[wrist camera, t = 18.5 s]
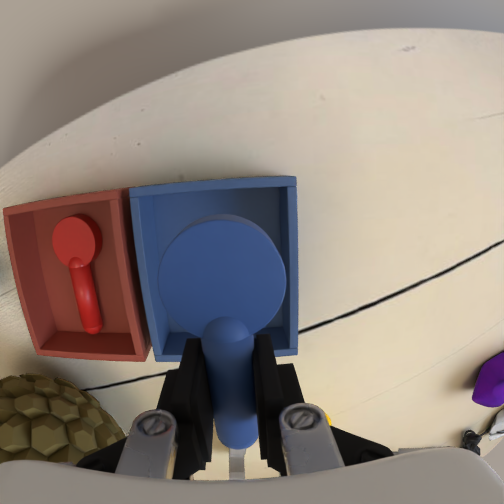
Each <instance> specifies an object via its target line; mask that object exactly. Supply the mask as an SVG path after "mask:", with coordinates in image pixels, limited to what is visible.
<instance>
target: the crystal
mask: <svg viewBox="0 0 504 504" xmlns="http://www.w3.org/2000/svg"><path fill="white" fill-rule="evenodd" d="M472 400H473V401H474V402H475V403H478V404H480V405H483V406H486V407H499V406H501V405H502V404H503V403H504V352H502V353H500V354H499V355H497V356H495V357H494V358H492V359H490V360H489V361H487V362H486V363H485V364H484V365H483V366H482V368H481V371H480V373H479V376H478V379H477V381H476V384H475V388H474V392H473V395H472Z"/></svg>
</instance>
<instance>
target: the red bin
mask: <svg viewBox="0 0 504 504" xmlns="http://www.w3.org/2000/svg"><path fill="white" fill-rule="evenodd" d="M129 188H133V187H127V188H119V189H111V190H103V191H96V192H89V193H82V194H76V195H69V196H63V197H57V198H51V199H45V200H40V201H34V202H29V203H24V204H20V205H15V206H11V207H6V208H3V216H4V225H5V232H6V238H7V244H8V250H9V255H10V260H11V265H12V270H13V275H14V279H15V283H16V287H17V291H18V295H19V299H20V303H21V306H22V310H23V313H24V317H25V320H26V323H27V327H28V330H29V333H30V336H31V339H32V342H33V345H34V348H35V350H36V353H37V355H43V356H52V357H63V358H75V359H89V360H106V361H133V362H145V361H146V358H147V356H148V354H149V351H150V349H151V347H152V343H151V338H150V333H149V328H148V323H147V318H146V313H145V307H144V302H143V296H142V290H141V284H140V278H139V271H138V264H137V257H136V250H135V242H134V234H133V225H132V216H131V206H130V195H129ZM75 214H83V215H86V216H88V217H90V218H91V219H92V220H94V221H95V223H96V224H97V225H98V227H99V229H100V232H101V236H102V248H101V251H100V253H99V255H98V257H97V258H96V259H95V260H94V261H92V262H91V263H90V265H91V271H92V276H93V281H94V286H95V291H96V296H97V300H98V305H99V309H100V313H101V317H102V322H103V326H102V329H101V331H100V332H99V333H97V334H89V333H87V332H86V331H85V330H84V328H83V326H82V323H81V319H80V315H79V311H78V307H77V303H76V299H75V294H74V290H73V285H72V281H71V276H70V271H69V267H67V266H66V265H64V264H63V263H62V262H61V261H60V260H59V259H58V258H57V256H56V254H55V252H54V249H53V245H52V235H53V231H54V228H55V226H56V225H57V223H58V222H59V221H60V220H62V219H63V218H65V217H68V216H71V215H75Z"/></svg>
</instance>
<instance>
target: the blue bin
mask: <svg viewBox="0 0 504 504" xmlns="http://www.w3.org/2000/svg"><path fill="white" fill-rule="evenodd" d="M296 185H297V183H296V176H263V177H242V178H225V179H211V180H197V181H185V182H174V183H164V184H154V185H145V186H139V187H133V188H129V195H130V206H131V216H132V225H133V234H134V242H135V250H136V257H137V264H138V271H139V278H140V284H141V290H142V296H143V302H144V307H145V313H146V318H147V323H148V328H149V333H150V338H151V343H152V347H153V352H154V356H155V361H156V362H181V358H182V354H183V351H184V347H185V343H186V339H187V338H200V337H198V336H195V335H193V334H191V333H189V332H188V331H186V330H185V329H183V328H182V327H181V326H179V325H178V324H177V323H176V322H175V321H174V320H173V319H172V317H171V316H170V315H169V313H168V312H167V311H166V309H165V307H164V305H163V303H162V300H161V298H160V294H159V290H158V281H157V278H158V269H159V264H160V261H161V258H162V256H163V254H164V252H165V250H166V248H167V247H168V245H169V244H170V243H171V241H172V240H173V239H174V238H175V237H176V236H177V235H178V234H179V233H180V232H181V231H182V230H183V229H184V228H185V227H186V226H187V225H189V224H190V223H192V222H194V221H195V220H197V219H200V218H202V217H205V216H209V215H215V214H230V215H236V216H239V217H243V218H245V219H247V220H250V221H251V222H253V223H255V224H256V225H258V226H259V227H260V228H261V229H263V230H264V231H265V232H266V233H267V235H268V236H269V237H270V239H271V240H272V242H273V243H274V245H275V247H276V249H277V251H278V252H279V254H280V256H281V258H282V261H283V264H284V267H285V272H286V290H285V296H284V299H283V302H282V304H281V306H280V308H279V310H278V312H277V313H276V315H275V316H274V317H273V319H272V320H271V321H270V322H269V323H268V324H267V325H266V326H265V327H263V328H262V329H261V330H259V331H258V332H256V333H254V334H253V337H254V338H256V335H257V334H270V336H271V341H272V345H273V350H274V354H275V357H280V356H291V355H297V354H298V217H297V187H296Z"/></svg>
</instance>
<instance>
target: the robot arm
mask: <svg viewBox="0 0 504 504" xmlns="http://www.w3.org/2000/svg"><path fill="white" fill-rule="evenodd" d="M252 354H253V369H254V384H255V399H256V414H257V424H258V434H259V444H260V454H261V460H265V459H267V463H268V467H271V468H273V469H275V470H276V471H278V472H279V477H273V478H262V479H247V480H215V481H204V480H194V478H193V474H194V473H195V472H197V471H198V470H205V467H206V462H211V455H212V437H213V421H214V413H213V407H212V401H211V396H210V390H209V384H208V377H207V371H206V365H205V358H204V353H203V349H202V343H201V338H187V339H186V343H185V347H184V351H183V354H182V358H181V362H180V366H179V370H168V372H167V374H166V378H165V381H164V384H163V388H162V391H161V394H160V398H159V401H158V405H157V408H156V409H155V410H149V411H145V412H143V413H141V414H140V415H138V416H137V417H136V418H135V420H134V421H133V424H132V427H131V429H130V432H129V435H128V436H127V437H125V438H123V439H121V440H119V441H117V442H115V443H113V444H111V445H109V446H107V447H105V448H103V449H101V450H98V451H96V452H94V453H92V454H90V455H88V456H85V457H84V458H82V459H81V460H80V461H79V462H78V463H77V464H73V462H59V463H52V462H45V461H36V460H14V461H8V462H4V463H2V464H0V504H504V482H503V481H502V479H501V478H500V477H499V476H498V475H497V473H496V472H495V471H494V470H493V468H492V467H490V465H489V464H488V463H487V462H486V461H485V460H484V459H483V458H481V457H480V456H479V455H477V454H476V453H474V452H472V451H470V450H467V449H463V448H456V447H449V446H448V447H433V448H399V450H398V452H392V451H391V450H390V449H389V448H388V447H386V446H383V445H381V444H378V443H375V442H373V441H370V440H367V439H364V438H361V437H359V436H356V435H353V434H351V433H348V432H345V431H343V430H340V429H338V428H335V427H333V426H330V425H329V423H328V420H327V418H326V415H325V413H324V412H323V410H322V409H321V408H319V407H318V406H316V405H313V404H309V403H305V402H304V398H303V395H302V392H301V388H300V385H299V382H298V378H297V375H296V372H295V368H294V365H293V363H290V364H279V365H277V363H276V359H275V354H274V350H273V345H272V341H271V336H270V334H257V335H256V338H254V350H253V351H252Z"/></svg>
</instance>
